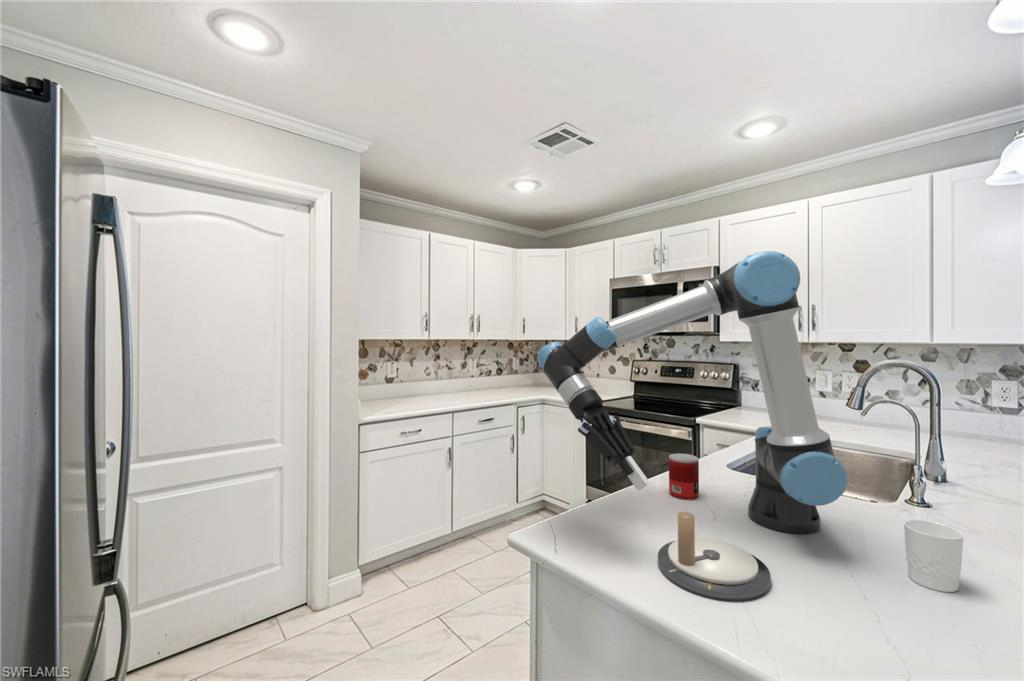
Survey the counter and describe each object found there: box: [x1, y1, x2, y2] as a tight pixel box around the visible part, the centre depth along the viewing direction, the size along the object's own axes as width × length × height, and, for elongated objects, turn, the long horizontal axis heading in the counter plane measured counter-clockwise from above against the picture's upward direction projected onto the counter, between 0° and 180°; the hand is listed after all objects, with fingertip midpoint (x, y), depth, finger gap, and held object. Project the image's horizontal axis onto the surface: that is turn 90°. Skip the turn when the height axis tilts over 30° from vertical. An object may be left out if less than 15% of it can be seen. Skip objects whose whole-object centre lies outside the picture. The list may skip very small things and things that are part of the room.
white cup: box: [903, 519, 964, 593], centre depth 81 cm, size 8×8×10 cm
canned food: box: [668, 453, 700, 500], centre depth 126 cm, size 8×8×11 cm
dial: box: [668, 511, 758, 585], centre depth 86 cm, size 16×16×10 cm
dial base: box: [657, 539, 772, 603], centre depth 86 cm, size 20×20×2 cm
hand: (643, 486), depth 90 cm, fingers closed
